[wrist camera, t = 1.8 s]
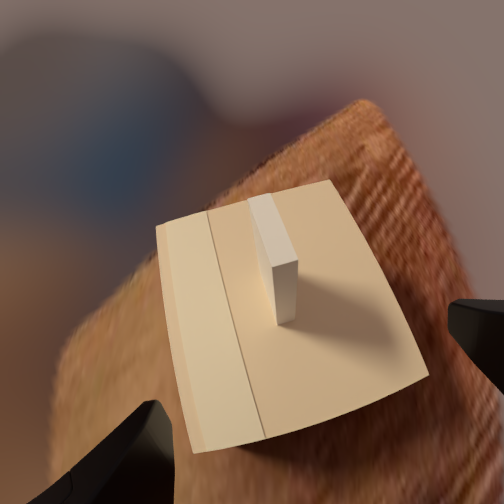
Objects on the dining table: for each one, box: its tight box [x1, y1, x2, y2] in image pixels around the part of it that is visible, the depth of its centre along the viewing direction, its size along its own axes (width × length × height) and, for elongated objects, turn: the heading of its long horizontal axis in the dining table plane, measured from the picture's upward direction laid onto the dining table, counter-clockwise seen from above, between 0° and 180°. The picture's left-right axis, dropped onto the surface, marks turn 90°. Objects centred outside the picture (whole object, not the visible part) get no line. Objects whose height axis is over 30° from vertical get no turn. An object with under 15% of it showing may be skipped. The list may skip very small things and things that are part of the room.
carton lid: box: [156, 180, 429, 454], centre depth 12 cm, size 12×10×6 cm
